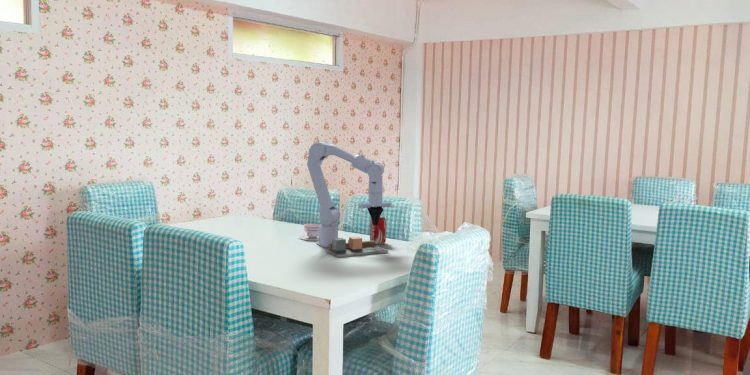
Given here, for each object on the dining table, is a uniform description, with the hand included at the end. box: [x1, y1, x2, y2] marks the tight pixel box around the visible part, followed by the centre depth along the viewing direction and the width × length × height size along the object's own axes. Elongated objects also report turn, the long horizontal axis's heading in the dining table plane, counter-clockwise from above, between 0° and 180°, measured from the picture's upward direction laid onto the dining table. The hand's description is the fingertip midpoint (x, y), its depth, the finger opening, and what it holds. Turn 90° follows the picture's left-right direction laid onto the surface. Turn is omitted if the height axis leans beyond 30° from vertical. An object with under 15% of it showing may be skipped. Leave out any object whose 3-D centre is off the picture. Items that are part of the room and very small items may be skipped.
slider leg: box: [347, 236, 363, 251], centre depth 258 cm, size 7×4×5 cm, turn 27°
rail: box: [328, 240, 375, 250], centre depth 262 cm, size 2×20×2 cm, turn 117°
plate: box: [325, 245, 389, 258], centre depth 258 cm, size 12×22×1 cm, turn 117°
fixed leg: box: [332, 237, 347, 253], centre depth 255 cm, size 7×4×5 cm, turn 27°
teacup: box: [298, 223, 321, 241], centre depth 286 cm, size 12×12×6 cm
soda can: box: [369, 214, 387, 246], centre depth 276 cm, size 7×7×12 cm
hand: (375, 224), depth 265 cm, fingers closed
